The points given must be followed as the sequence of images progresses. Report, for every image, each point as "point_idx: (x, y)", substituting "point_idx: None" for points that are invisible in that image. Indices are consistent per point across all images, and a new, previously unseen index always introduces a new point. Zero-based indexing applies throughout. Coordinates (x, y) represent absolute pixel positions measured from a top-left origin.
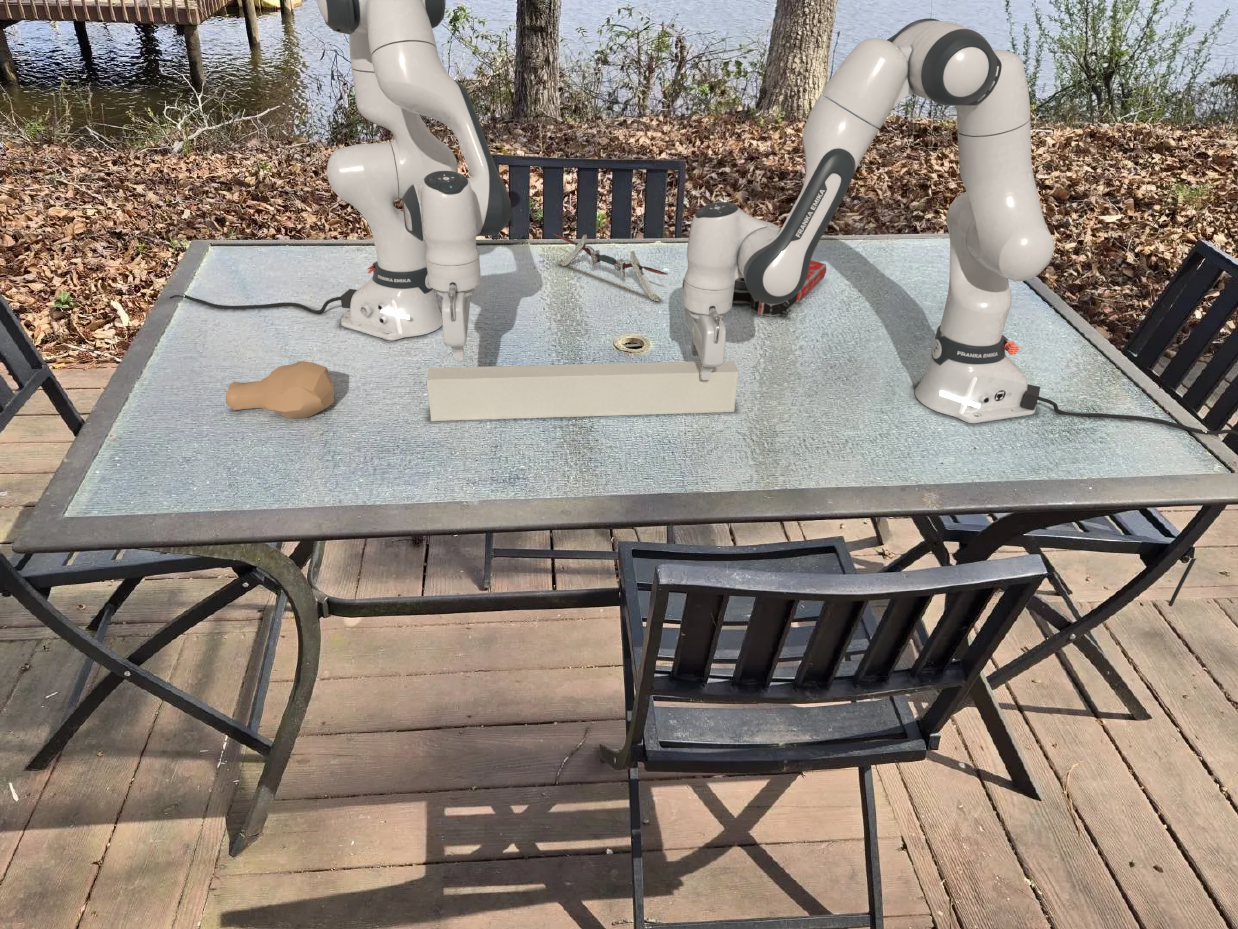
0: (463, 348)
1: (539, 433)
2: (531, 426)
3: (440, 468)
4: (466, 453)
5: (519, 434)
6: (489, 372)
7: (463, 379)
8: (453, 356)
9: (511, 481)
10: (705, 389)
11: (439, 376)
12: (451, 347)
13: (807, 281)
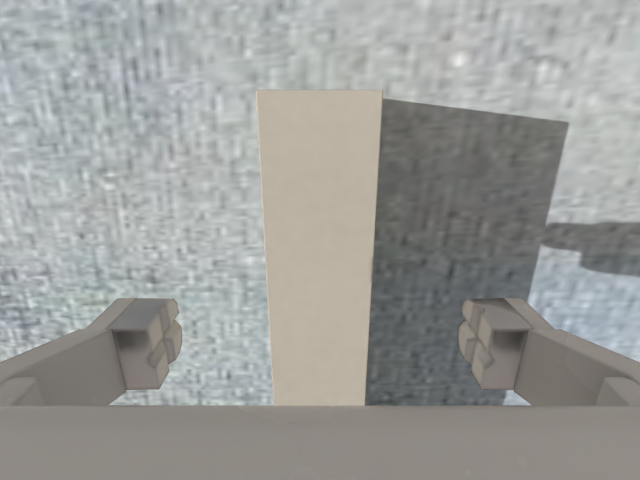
0: (150, 388)
1: (219, 368)
2: (251, 354)
3: (24, 143)
4: (110, 209)
5: (213, 329)
6: (316, 346)
7: (265, 255)
8: (106, 309)
9: (8, 312)
10: None
11: (289, 151)
12: (8, 360)
13: None
